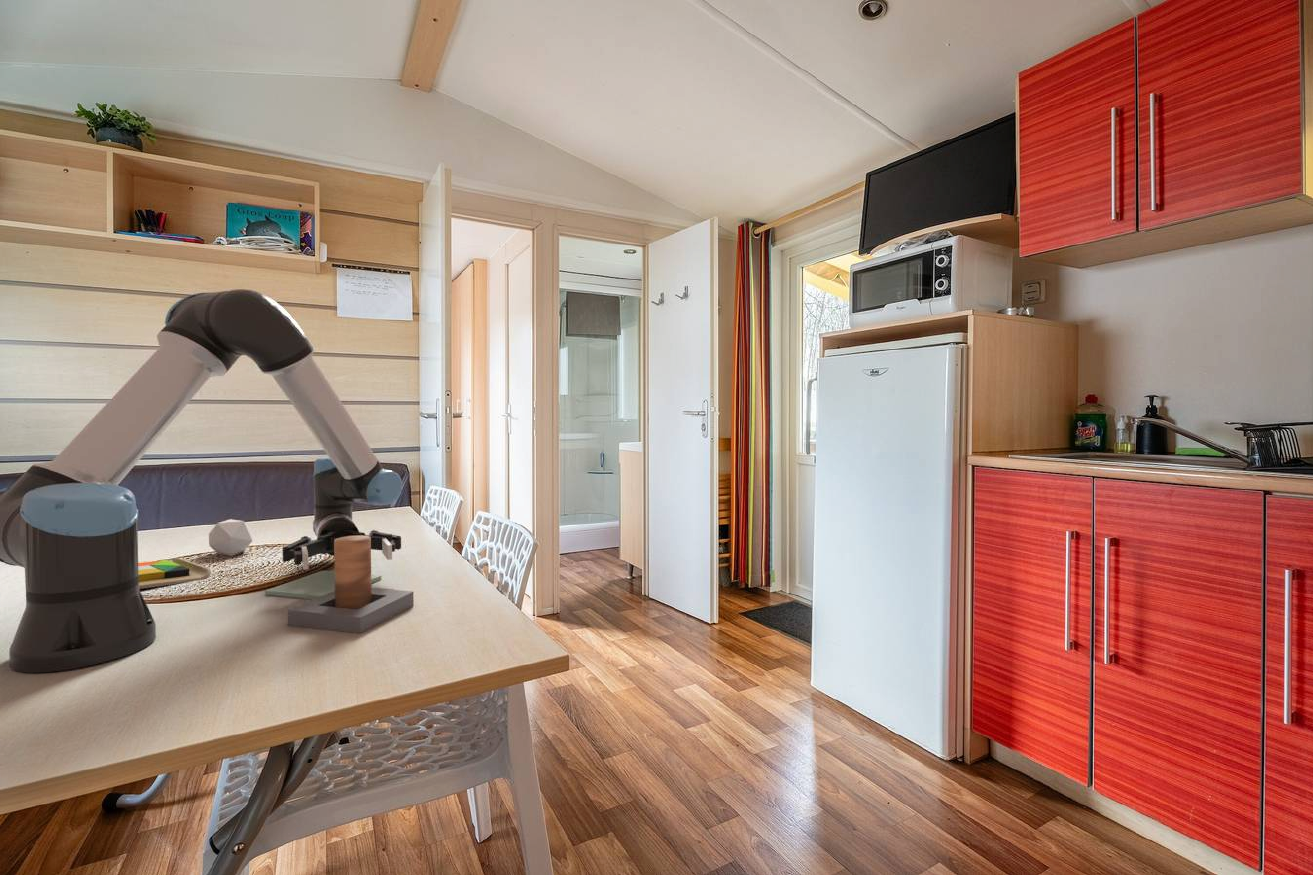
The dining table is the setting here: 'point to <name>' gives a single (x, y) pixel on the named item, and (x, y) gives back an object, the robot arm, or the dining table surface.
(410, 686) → the dining table surface
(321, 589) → the board
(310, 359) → the robot arm
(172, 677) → the dining table surface
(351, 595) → the brown wooden cylinder
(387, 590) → the pocket plate
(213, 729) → the dining table surface
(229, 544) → the die
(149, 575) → the wooden puzzle
